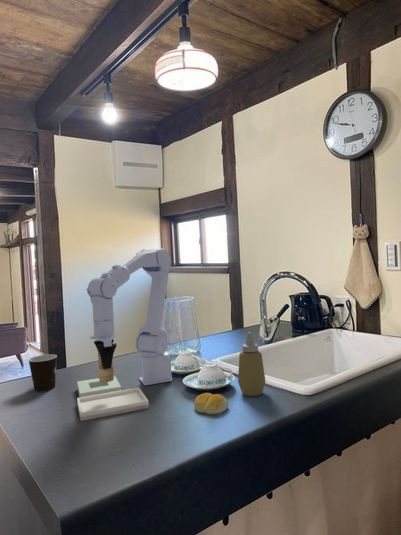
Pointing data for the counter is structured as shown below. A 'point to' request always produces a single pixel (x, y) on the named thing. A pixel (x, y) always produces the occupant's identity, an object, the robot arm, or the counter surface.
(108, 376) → the oak pin
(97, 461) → the counter surface
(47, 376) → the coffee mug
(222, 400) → the bread roll
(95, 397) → the tray
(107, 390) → the pin holder
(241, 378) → the squeeze bottle
